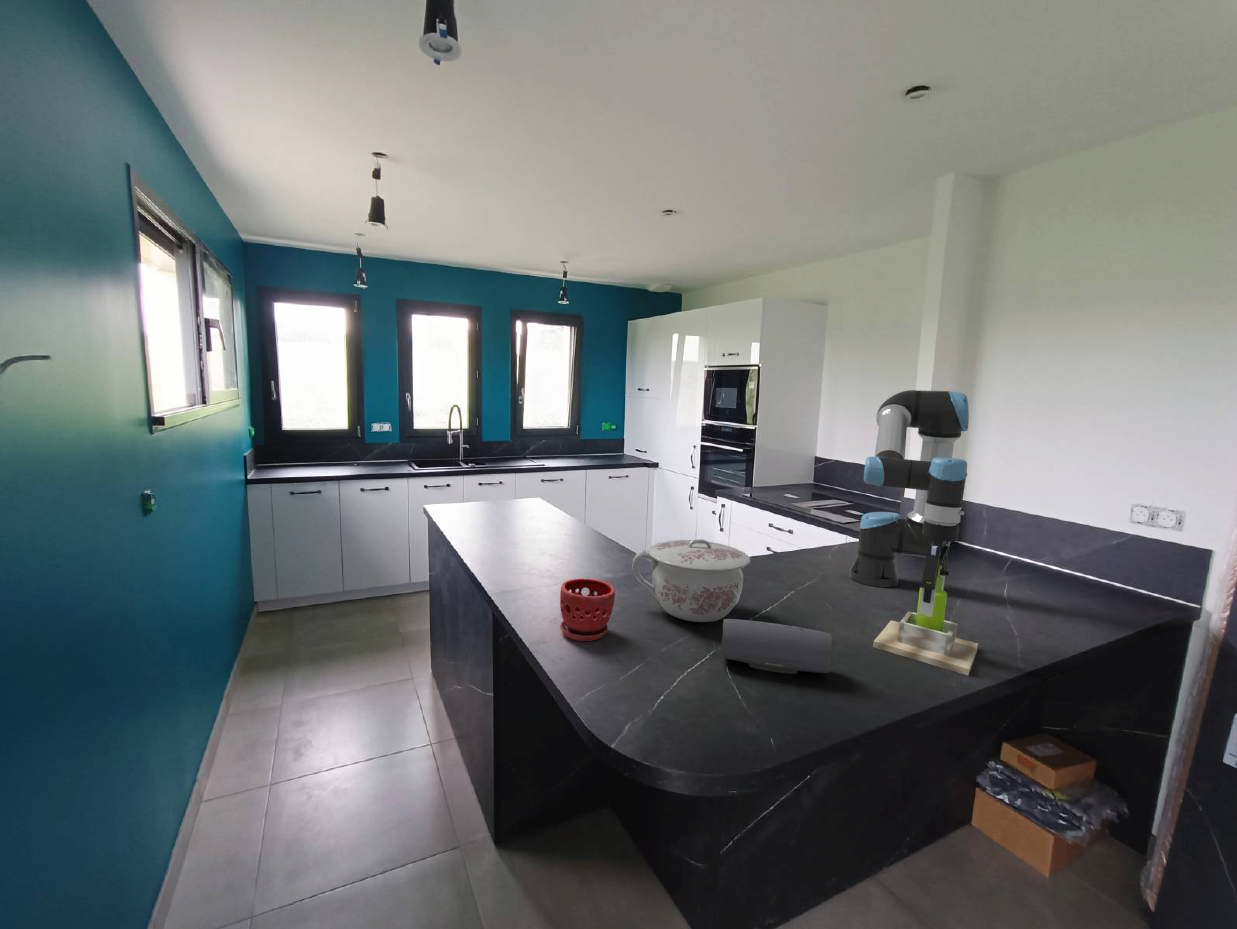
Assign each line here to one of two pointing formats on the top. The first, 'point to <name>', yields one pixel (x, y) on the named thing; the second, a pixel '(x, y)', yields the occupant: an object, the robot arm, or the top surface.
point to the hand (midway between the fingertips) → (930, 607)
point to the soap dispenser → (934, 608)
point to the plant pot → (586, 609)
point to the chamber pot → (694, 578)
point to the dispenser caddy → (928, 644)
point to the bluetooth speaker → (776, 646)
